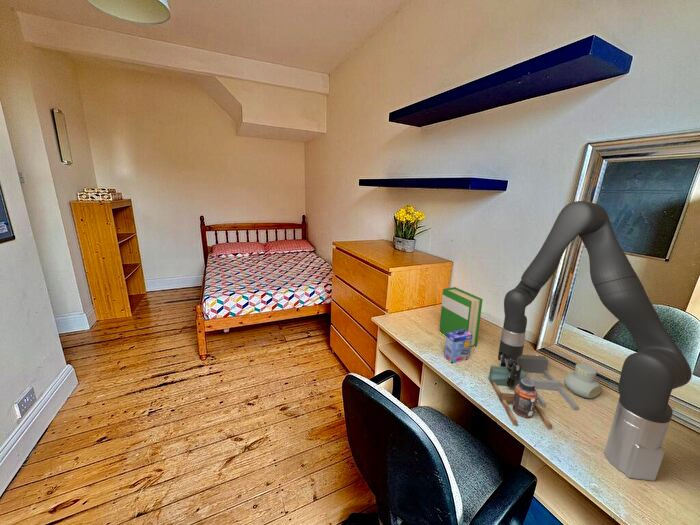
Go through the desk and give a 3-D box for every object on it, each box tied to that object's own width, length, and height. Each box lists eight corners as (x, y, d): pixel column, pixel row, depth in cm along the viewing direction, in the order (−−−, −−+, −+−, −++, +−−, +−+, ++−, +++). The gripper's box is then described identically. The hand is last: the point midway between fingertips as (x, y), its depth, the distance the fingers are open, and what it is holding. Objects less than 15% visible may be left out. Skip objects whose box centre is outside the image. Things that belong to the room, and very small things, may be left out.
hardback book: (476, 346, 133) (482, 299, 127) (464, 349, 130) (469, 301, 124) (450, 330, 148) (454, 287, 143) (439, 332, 146) (443, 288, 140)
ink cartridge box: (451, 364, 119) (455, 333, 116) (443, 357, 124) (446, 327, 121) (470, 359, 122) (473, 329, 119) (461, 352, 127) (464, 323, 124)
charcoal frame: (577, 409, 94) (580, 394, 93) (541, 406, 95) (544, 391, 94) (541, 368, 116) (543, 355, 115) (513, 366, 118) (515, 353, 116)
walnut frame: (551, 429, 86) (555, 412, 85) (513, 425, 88) (516, 409, 86) (518, 380, 108) (520, 367, 107) (488, 378, 110) (490, 364, 108)
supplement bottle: (536, 420, 90) (542, 389, 87) (515, 417, 91) (521, 387, 88) (528, 406, 96) (534, 377, 93) (509, 403, 97) (514, 375, 94)
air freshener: (577, 381, 108) (583, 358, 106) (602, 395, 101) (609, 371, 99) (558, 388, 105) (563, 364, 102) (583, 403, 97) (589, 378, 95)
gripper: (533, 351, 95) (525, 393, 99) (514, 331, 109) (508, 369, 113) (509, 350, 96) (503, 391, 100) (494, 330, 110) (489, 367, 114)
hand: (506, 379), depth 107 cm, fingers open, 7 cm apart
